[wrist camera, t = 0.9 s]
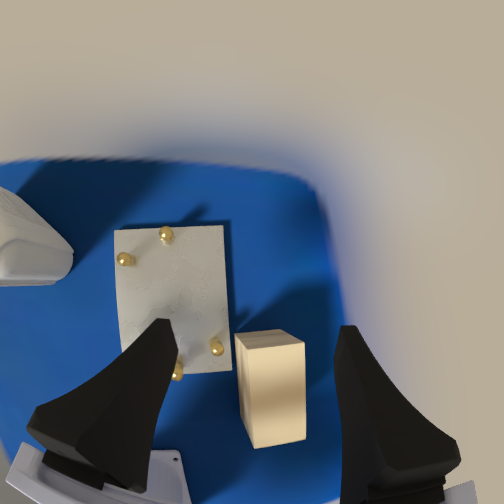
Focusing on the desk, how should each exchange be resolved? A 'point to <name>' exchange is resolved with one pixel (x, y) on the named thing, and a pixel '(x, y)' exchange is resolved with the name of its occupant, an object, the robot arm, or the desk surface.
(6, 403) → the desk surface
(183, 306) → the plate
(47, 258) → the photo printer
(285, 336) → the board
